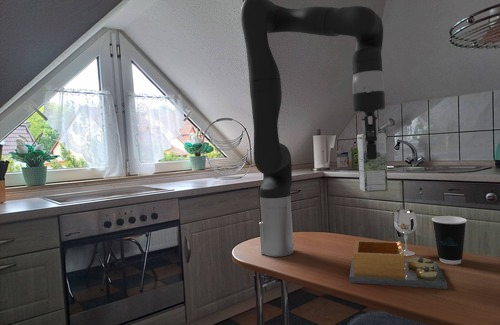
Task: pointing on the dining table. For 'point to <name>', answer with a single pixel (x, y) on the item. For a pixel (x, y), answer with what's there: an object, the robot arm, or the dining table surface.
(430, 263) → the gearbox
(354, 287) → the dining table surface
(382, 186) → the syrup box
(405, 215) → the wineglass
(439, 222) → the dixie cup
